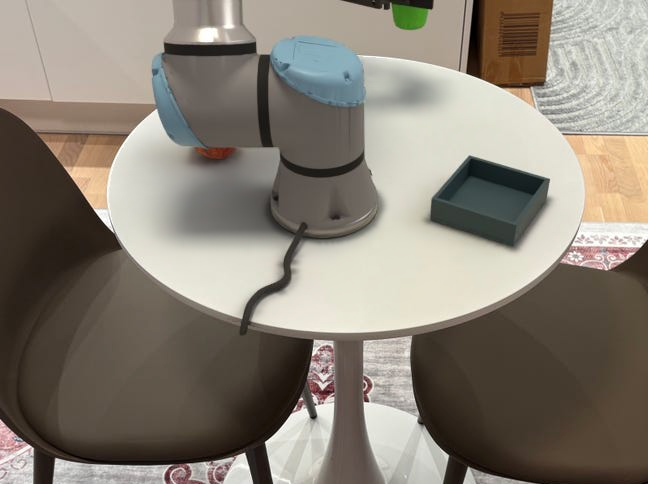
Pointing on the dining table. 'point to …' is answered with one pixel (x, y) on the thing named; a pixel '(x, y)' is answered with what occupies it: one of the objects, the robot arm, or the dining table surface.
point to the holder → (489, 200)
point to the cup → (409, 17)
